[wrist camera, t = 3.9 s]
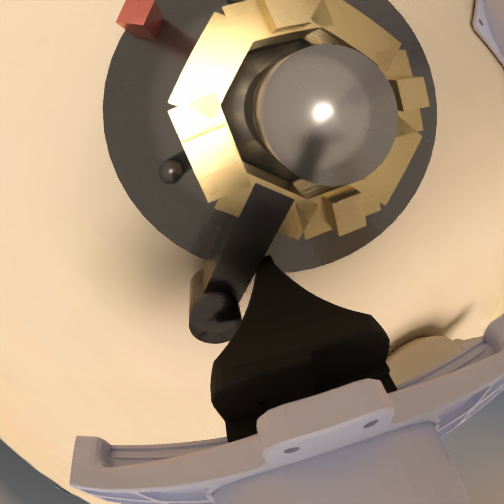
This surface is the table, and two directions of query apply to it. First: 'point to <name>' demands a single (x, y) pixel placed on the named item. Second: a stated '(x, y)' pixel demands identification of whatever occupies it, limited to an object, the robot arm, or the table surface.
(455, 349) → the teacup
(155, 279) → the table surface
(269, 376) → the robot arm
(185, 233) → the cap plate
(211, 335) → the gold handled ring
